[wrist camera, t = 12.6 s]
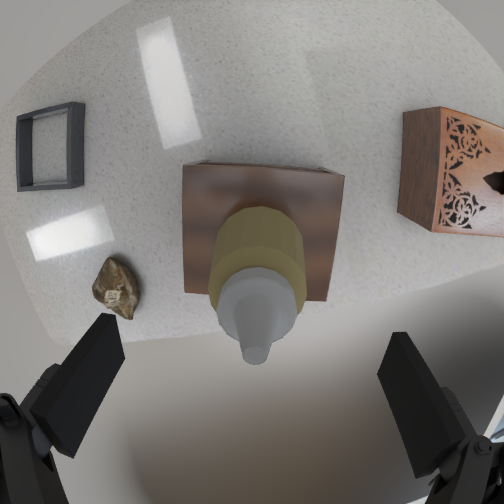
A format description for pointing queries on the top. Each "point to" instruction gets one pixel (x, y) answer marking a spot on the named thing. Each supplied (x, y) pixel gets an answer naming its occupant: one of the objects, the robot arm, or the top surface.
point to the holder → (73, 148)
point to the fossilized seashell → (117, 288)
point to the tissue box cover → (452, 172)
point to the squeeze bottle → (258, 279)
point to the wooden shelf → (254, 195)
